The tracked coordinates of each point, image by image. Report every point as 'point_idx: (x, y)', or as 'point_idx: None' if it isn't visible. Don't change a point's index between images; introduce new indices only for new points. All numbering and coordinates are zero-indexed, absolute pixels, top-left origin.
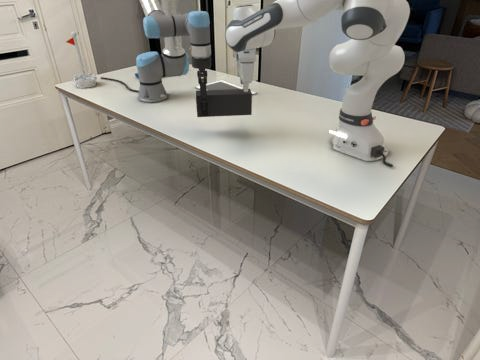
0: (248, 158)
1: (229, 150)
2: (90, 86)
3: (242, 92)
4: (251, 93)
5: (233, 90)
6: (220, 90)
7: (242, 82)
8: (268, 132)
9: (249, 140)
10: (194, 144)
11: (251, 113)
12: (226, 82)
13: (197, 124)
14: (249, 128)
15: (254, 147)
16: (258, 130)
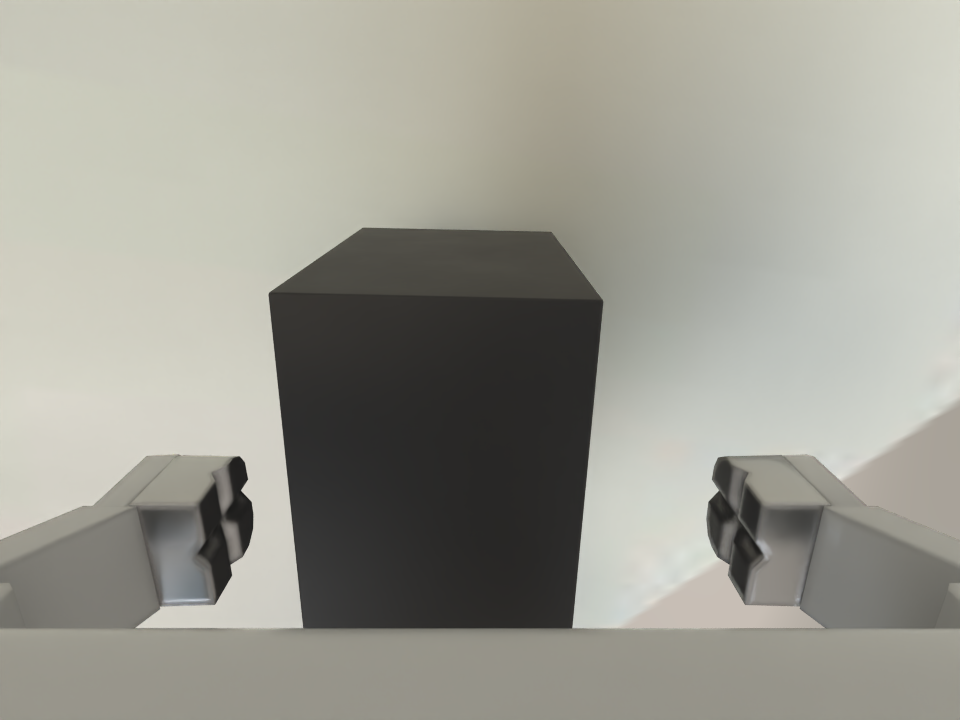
0: (942, 292)
1: (771, 411)
2: None
3: (497, 468)
4: (591, 309)
5: (366, 596)
6: None
7: (231, 523)
8: (509, 17)
9: (643, 238)
10: (620, 613)
11: (553, 236)
12: None
13: (293, 590)
14: (396, 200)
15: (781, 216)
16: (450, 117)
